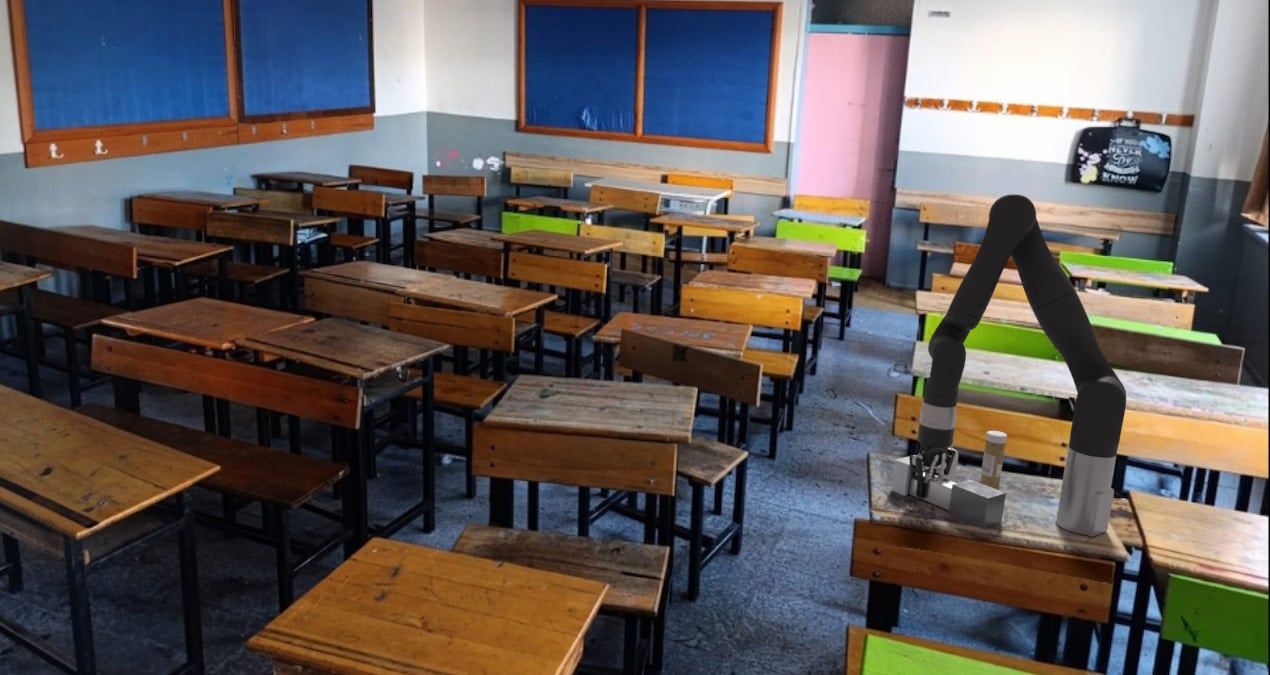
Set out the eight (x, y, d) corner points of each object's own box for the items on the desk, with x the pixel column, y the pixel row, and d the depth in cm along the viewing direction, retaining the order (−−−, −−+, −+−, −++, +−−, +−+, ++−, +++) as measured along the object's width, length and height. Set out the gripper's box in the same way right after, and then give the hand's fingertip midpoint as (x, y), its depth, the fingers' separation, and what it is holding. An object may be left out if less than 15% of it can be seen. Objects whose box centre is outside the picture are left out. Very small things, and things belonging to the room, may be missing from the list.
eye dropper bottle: (931, 476, 230) (937, 428, 227) (955, 480, 228) (962, 433, 225) (928, 481, 226) (935, 433, 223) (953, 486, 224) (959, 437, 221)
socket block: (923, 490, 220) (928, 460, 218) (904, 496, 216) (908, 464, 214) (910, 485, 223) (914, 455, 221) (891, 490, 218) (895, 459, 217)
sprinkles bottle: (1002, 491, 223) (1011, 436, 220) (984, 490, 222) (992, 435, 219) (993, 483, 227) (1001, 430, 224) (975, 483, 226) (983, 429, 224)
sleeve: (1001, 522, 204) (1005, 493, 202) (983, 528, 200) (988, 498, 198) (965, 508, 210) (970, 479, 209) (948, 513, 207) (952, 484, 205)
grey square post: (971, 511, 208) (974, 490, 207) (960, 515, 206) (963, 493, 205) (911, 487, 220) (914, 467, 219) (900, 490, 218) (903, 469, 217)
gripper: (931, 432, 204) (921, 507, 208) (971, 423, 212) (960, 495, 216) (902, 422, 210) (893, 495, 213) (942, 414, 218) (933, 484, 222)
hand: (927, 495), depth 215 cm, fingers open, 4 cm apart
